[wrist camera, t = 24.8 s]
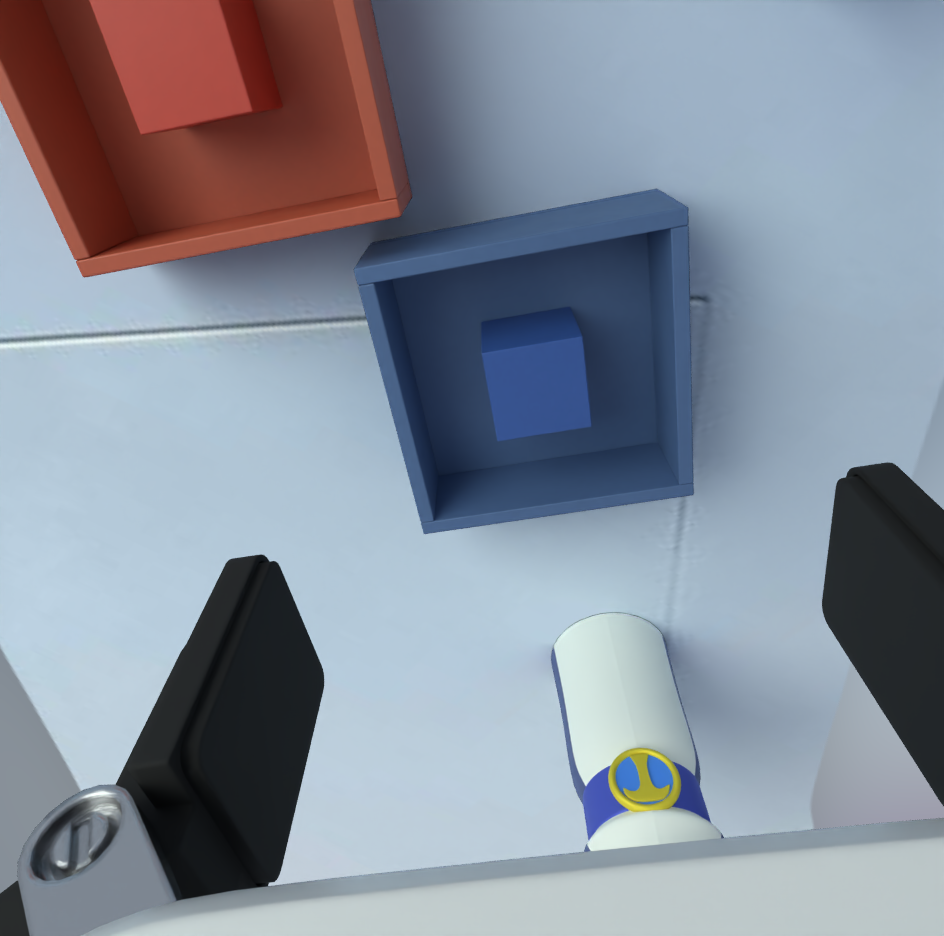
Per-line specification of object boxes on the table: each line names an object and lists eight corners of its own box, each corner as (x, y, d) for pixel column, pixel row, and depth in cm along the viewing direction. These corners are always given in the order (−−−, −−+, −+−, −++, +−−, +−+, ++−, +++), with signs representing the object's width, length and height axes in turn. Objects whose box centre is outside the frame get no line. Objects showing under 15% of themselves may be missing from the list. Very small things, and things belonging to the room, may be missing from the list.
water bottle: (534, 616, 43) (592, 1155, 22) (668, 601, 42) (869, 1142, 21) (547, 703, 47) (606, 1231, 26) (670, 691, 47) (838, 1222, 25)
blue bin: (370, 242, 32) (353, 269, 27) (657, 188, 30) (688, 206, 26) (429, 482, 38) (423, 534, 34) (668, 445, 37) (694, 495, 32)
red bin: (-14, -110, 25) (-119, -150, 21) (329, -197, 24) (295, -260, 20) (137, 250, 32) (82, 278, 27) (412, 197, 31) (401, 217, 26)
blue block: (480, 321, 33) (481, 353, 29) (570, 306, 32) (582, 336, 29) (495, 402, 35) (497, 441, 31) (579, 388, 35) (592, 427, 31)
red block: (141, 5, 26) (85, -7, 23) (247, -19, 26) (208, -36, 22) (184, 128, 29) (140, 135, 25) (283, 107, 28) (253, 111, 24)
